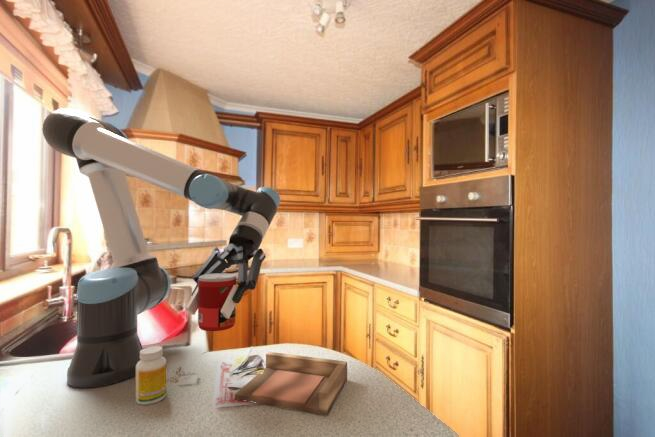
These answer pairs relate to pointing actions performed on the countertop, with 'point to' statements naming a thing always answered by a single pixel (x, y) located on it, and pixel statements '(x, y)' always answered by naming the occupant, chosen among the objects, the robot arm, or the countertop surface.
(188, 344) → the countertop surface
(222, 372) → the countertop surface
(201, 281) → the canned food
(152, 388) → the supplement bottle
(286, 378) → the wooden tray
